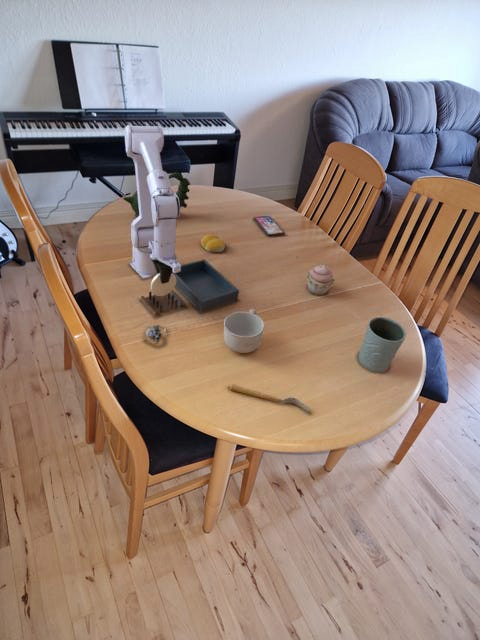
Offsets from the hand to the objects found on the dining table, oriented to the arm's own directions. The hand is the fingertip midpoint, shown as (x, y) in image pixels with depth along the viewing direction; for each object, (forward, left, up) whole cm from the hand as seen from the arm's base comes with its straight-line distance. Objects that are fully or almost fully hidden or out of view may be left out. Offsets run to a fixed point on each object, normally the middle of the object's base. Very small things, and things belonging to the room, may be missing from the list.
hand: (163, 280), depth 125 cm
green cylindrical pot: (+49, +39, -9) cm, 64 cm away
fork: (+45, +4, -9) cm, 46 cm away
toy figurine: (-50, +24, -9) cm, 56 cm away
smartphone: (-26, +62, -8) cm, 68 cm away
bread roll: (-22, +32, -9) cm, 40 cm away
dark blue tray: (-1, +14, -8) cm, 17 cm away
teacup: (+25, +11, -9) cm, 29 cm away
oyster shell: (+12, -9, -9) cm, 17 cm away
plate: (0, 0, -5) cm, 5 cm away
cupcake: (+16, +49, -9) cm, 53 cm away
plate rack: (0, 0, -8) cm, 8 cm away
